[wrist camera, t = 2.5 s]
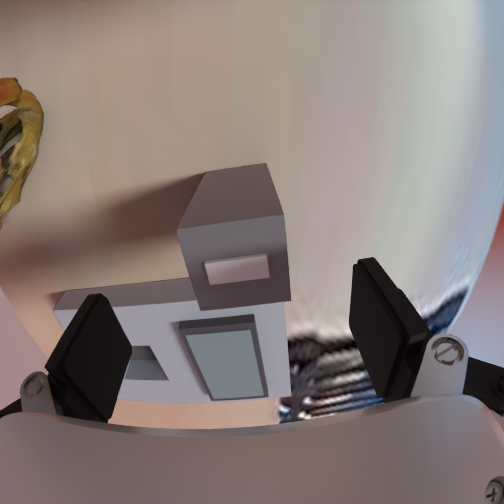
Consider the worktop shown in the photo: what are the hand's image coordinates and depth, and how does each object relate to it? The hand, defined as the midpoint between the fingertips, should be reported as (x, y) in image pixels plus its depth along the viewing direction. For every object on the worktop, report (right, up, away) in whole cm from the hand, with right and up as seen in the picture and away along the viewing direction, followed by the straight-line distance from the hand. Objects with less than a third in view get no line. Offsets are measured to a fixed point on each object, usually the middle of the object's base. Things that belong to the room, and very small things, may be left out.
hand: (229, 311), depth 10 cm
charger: (0, +6, +9) cm, 11 cm away
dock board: (-6, -6, +16) cm, 18 cm away
